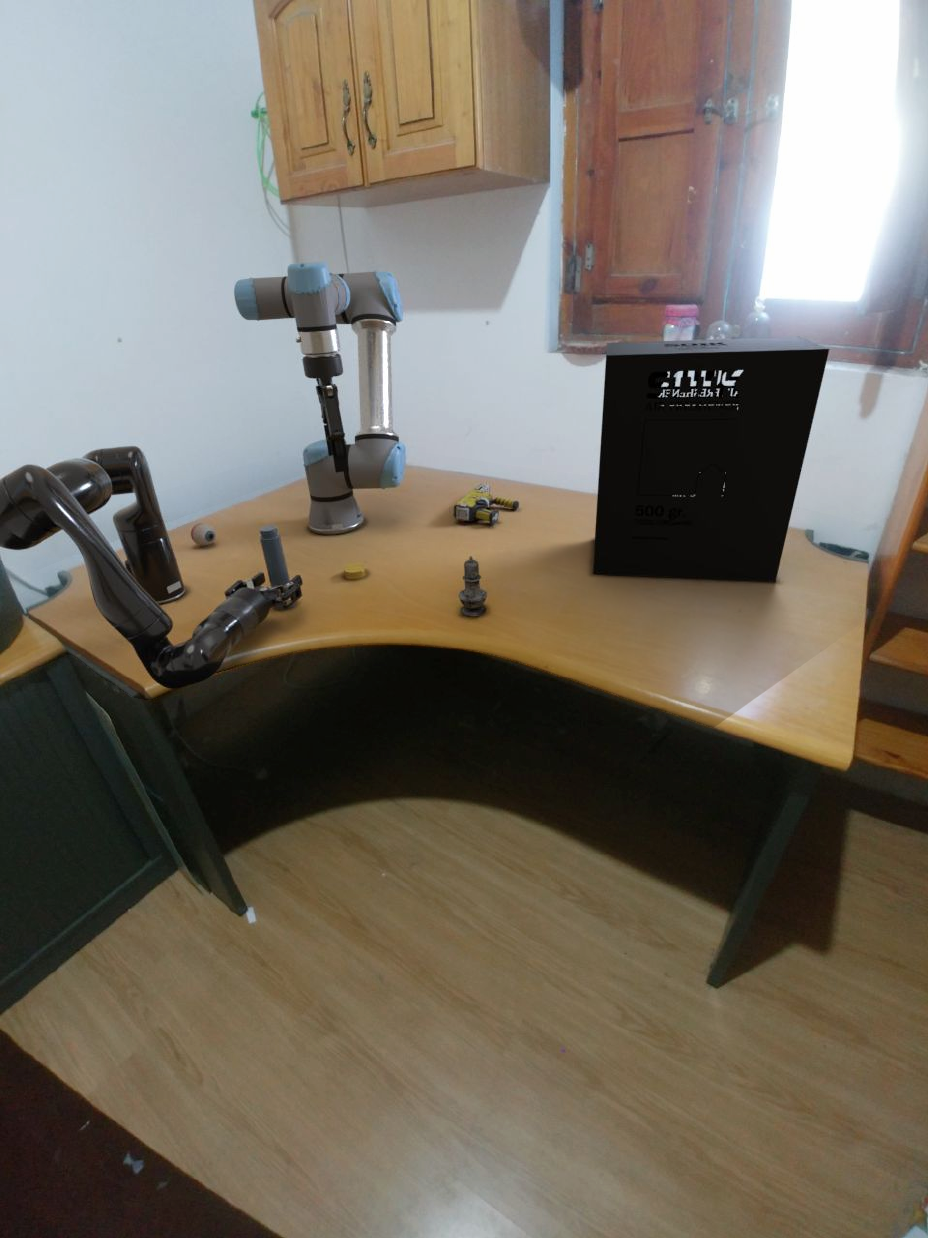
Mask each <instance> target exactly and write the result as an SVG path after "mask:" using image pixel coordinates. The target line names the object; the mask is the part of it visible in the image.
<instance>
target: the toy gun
mask: <svg viewBox="0 0 928 1238" xmlns="http://www.w3.org/2000/svg"><path fill="white" fill-rule="evenodd" d="M493 505H495V506H500V507H504V508H510V509H512V510H514V511H516V510H518V509H519V507H520V502H519V501H518V500H512V499H508V498H504V497H500V496H496V497H495V498H493V496H492V494H491V485H490V484H488V483H486V484H485V483H482V482H481V483H480V484H479V485H477V486H476V487H475V488H473V489H471V491H469V492H468V493H467V494H465V496H464V497H462V498H461V499H460V500H459V501H458V502H456V503H455V504H454V505H453V511H452V513H453V514H452V517H453V518H454V519H455V520H457V522H462V523H464V522H465V521H467V522H471V521H477V520H482V521H483V520H484V521H486V522H489V525H492V526H493V524H495V523H497V522H498V521H499V515H500V509H498V508H494V510H493V509H492V507H491V506H493Z"/></svg>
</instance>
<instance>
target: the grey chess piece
mask: <svg viewBox="0 0 928 1238" xmlns="http://www.w3.org/2000/svg"><path fill="white" fill-rule="evenodd" d="M463 572H464V574H463V576H462V579H463V583H464V588H463V589H462V590H461V591H459V592H458V594H457V596H458V597H457V598H458V599H459V601H460V603H461V605H462V606H461V608H460V613H461V615H463V616H466V617H479V616H482V615H484V614H486V612H487V607H486V606H485V605H484V604H485V602H486V601H487V597H488V591H486V590H485V589H483V588H481V581H480V580H482V575H480V567H479V562H478V561H477V560H475V559H473V556H472V555H469V557H468V559H467V560H465V561H464V563H463Z"/></svg>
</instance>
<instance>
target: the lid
mask: <svg viewBox="0 0 928 1238" xmlns="http://www.w3.org/2000/svg"><path fill="white" fill-rule="evenodd" d="M366 569H367V568H366V566H365V564H363V563H350V564H347V565H345V566H344V567H343V576H344V578H345V579H347V580H350V581H351V580H352V581H353V580H355V581H356V580H360V579H363V578H364V577H366V575H367V570H366Z"/></svg>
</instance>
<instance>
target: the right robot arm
mask: <svg viewBox="0 0 928 1238" xmlns="http://www.w3.org/2000/svg"><path fill="white" fill-rule="evenodd" d="M233 296H234V302H235V306H236V309H237V311H238V313H239V315H240V316H241V318H243V319H244V320H246V321H257V322H258V321H269V320H284V319H294V320H295V326H296V331H297V335H299V336H297V337H295V343H298V344H299V348H300V352H301V354H302V355H304V356H303V357H302V358H301V361H302V367H303V372H304V376H305V377H306V378H308V379H312V380H313V379H314V380H315V381H316V383H317V385H315V391H316V395H317V397H318V403H319V404H320V412H321V418H322V423H323V430H324V435H325V439H320V440H318V441H314V442H312V443H309V444H308V445H307V446H305V447H304V448H303V450H302V457H303V459H302V460H303V467H304V471H305V477H306V481H307V486H308V492H309V498H310V507H309V513H308V523H307V524H308V528H309V529H308V530H310V531H311V532H312V533H314V534H317V535H323V536H324V535H325V536H327V535H329V536H331V535H339V534H340V535H341V534H345V533H350V532H353V531H355V530H357V529H359V528H361V527H362V526H363V525H364V523H365V519H364V514H363V512H362V510H361V508H360V505H359V504H358V501H357V500H356V498H355V495H354V490H368V489H382V490H385V489H392V488H393V489H395V488H398V487H400V485H401V484H402V482H403V480H404V476H405V473H406V464H407V454H406V452H407V451H406V450H407V449H406V446H405V444H404V442H401V441H400V436H399V434H397V433H396V432H395V430H394V422H393V421H394V420H393V415H394V414H393V412H394V411H393V381H392V380H393V378H392V377H393V373H392V370H393V369H392V336H393V335H395V333H396V332H397V323H400V322H402V321H403V319H404V313H403V305H402V304H403V303H402V298H401V293H400V289H399V286H398V283H397V280H396V277H395V276H394V274H393V273H392V272H390V271H377V270H374V271H363V272H349V273H348V272H347V273H332V272H330V270H329V267H328V264H327V263H326V262H324V261H313V262H295V263H290V264H289V265H288V266H287V275H285V276H270V277H269V276H268V277H248V278H242V279H238V280H237V281H236V282H235V284H234V288H233ZM337 325H350V326H351V327H350V328H351V331H352V332H354V334H356V336H357V363H358V365H357V366H358V367H357V369H358V396H359V397H358V398H359V399H358V400H359V401H358V402H359V403H358V404H359V431H358V432H357V433H356V434H355V435H354V443H351V444H350V443H347V440H346V439H345V438H346V433H345V431H344V425H343V421H342V413H341V410H340V399H339V389H338V386H337V385H336V383H334V382H333V378H334V377H340V376H342V375H343V374H344V367H343V359H342V355H341V354H340V353H339V352H340V351H341V344H340V343H341V342H340V336H339V330H338V326H337Z"/></svg>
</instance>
